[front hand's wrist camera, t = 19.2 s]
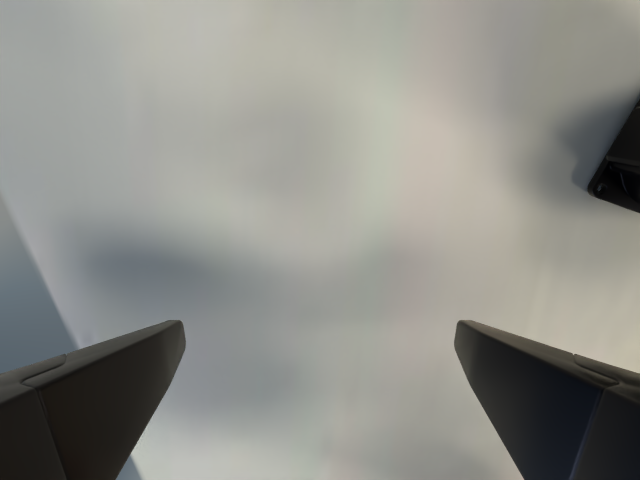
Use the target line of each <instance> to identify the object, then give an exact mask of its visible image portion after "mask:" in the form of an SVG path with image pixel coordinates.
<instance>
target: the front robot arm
mask: <svg viewBox="0 0 640 480" xmlns="http://www.w3.org/2000/svg"><path fill="white" fill-rule="evenodd" d="M600 185H601V186H602V187H601V189H600V190H599V191H597V189H598V187H599V186H600ZM587 191H588V193H589V195H591V196H593V197H596V198H599V199H602V200H604V201H607V202H610V203H613V204H616V205H618V206H621V207H624V208H627V209H630V210H632V211H635V212H638V213H640V99H639V101H638V103H637V104H636V106H635V108H634V110H633V111H632V113H631V114H630V116H629V118H628V119H627V121H626V123H625V124H624V126H623V128H622V129H621V131H620V133H619V135H618V136H617V138H616V140H615V141H614V143H613V145H612V146H611V148H610V150H609V151H608V153H607V155H606V156H605V158H604V160H603V161H602V163H601V165H600V167H599V168H598V170H597V172H596V173H595V175H594V177H593V178H592V180H591V182H590V183H589V185H588V188H587ZM185 347H186V340H185V334H184V327H183V323H182V321H180V320H168V321H165V322H162V323H159V324H156V325H153V326H150V327H147V328H144V329H141V330H138V331H135V332H132V333H129V334H125V335H122V336H119V337H116V338H113V339H110V340H107V341H104V342H101V343H98V344H95V345H92V346H89V347H86V348H83V349H80V350H76V351H73V352H70V353H68V354H67V355H66V354H63V355H60V356H57V357H54V358H51V359H47V360H44V361H41V362H38V363H35V364H31V365H28V366H25V367H21V368H18V369H15V370H11V371H8V372H4V373H1V374H0V480H116V478H117V476H118V475H119V473H120V471H121V469H122V468H123V466H124V464H125V462H126V461H127V459H128V457H129V456H130V454H131V452H132V450H133V449H134V447H135V445H136V443H137V442H138V440H139V438H140V436H141V435H142V433H143V431H144V429H145V428H146V426H147V424H148V422H149V421H150V419H151V417H152V416H153V414H154V412H155V410H156V409H157V407H158V405H159V403H160V402H161V400H162V398H163V396H164V395H165V393H166V391H167V389H168V388H169V386H170V384H171V382H172V379H173V377H174V375H175V372H176V370H177V367H178V365H179V363H180V360H181V358H182V355H183V353H184V351H185ZM454 347H455V351H456V353H457V355H458V358H459V360H460V363H461V365H462V367H463V370H464V372H465V375H466V377H467V379H468V382H469V384H470V386H471V388H472V389H473V391H474V393H475V395H476V396H477V398H478V400H479V402H480V403H481V405H482V407H483V409H484V410H485V412H486V414H487V416H488V417H489V419H490V421H491V422H492V424H493V426H494V428H495V429H496V431H497V433H498V435H499V436H500V438H501V440H502V442H503V443H504V445H505V447H506V449H507V450H508V452H509V454H510V456H511V457H512V459H513V461H514V463H515V464H516V466H517V468H518V469H519V471H520V473H521V475H522V476H523V478H524V480H640V374H639V373H636V372H632V371H629V370H625V369H622V368H619V367H615V366H612V365H609V364H606V363H602V362H599V361H596V360H593V359H590V358H586V357H583V356H580V355H577V354H574V355H573V354H572V353H570V352H567V351H564V350H560V349H557V348H554V347H551V346H548V345H545V344H542V343H539V342H536V341H533V340H530V339H527V338H524V337H521V336H518V335H515V334H511V333H508V332H505V331H502V330H499V329H496V328H493V327H490V326H487V325H484V324H481V323H478V322H475V321H472V320H460V321H458V323H457V327H456V334H455V340H454Z"/></svg>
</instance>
